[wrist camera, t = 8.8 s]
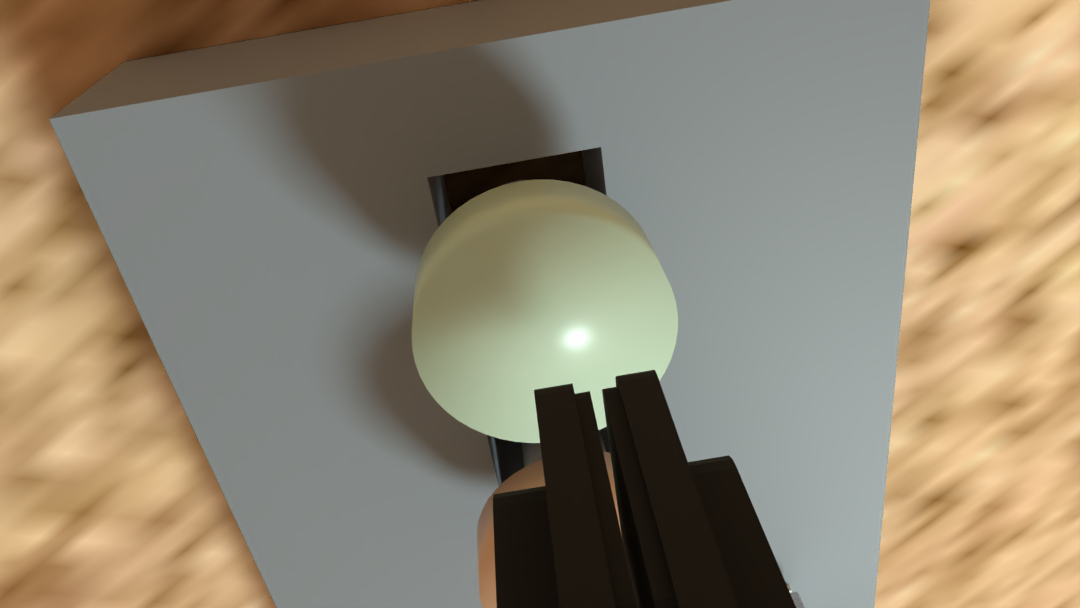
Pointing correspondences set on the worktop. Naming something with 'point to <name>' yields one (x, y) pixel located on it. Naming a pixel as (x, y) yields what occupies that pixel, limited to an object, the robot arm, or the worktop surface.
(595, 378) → the sage button
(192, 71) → the panel
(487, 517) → the peach knob
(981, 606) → the worktop surface
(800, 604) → the slider knob
